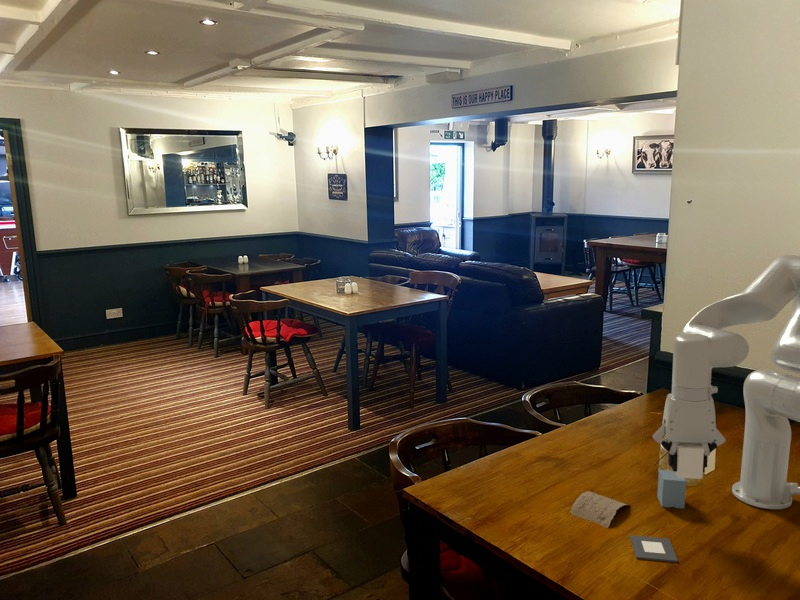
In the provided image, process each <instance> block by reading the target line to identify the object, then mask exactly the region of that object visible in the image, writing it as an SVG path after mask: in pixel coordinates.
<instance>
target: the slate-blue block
mask: <svg viewBox="0 0 800 600" xmlns="http://www.w3.org/2000/svg"><path fill="white" fill-rule="evenodd" d="M657 480H658V482H657V495H656V496H657V499H658V502H659V501H660V502H659V504H660V506H661V507H662V508H670V507H675V508H674V509H685V506H686V503H685V502H686V491H687V490H686V489H687V480H686V478H678V477H677V475H676V473H675V472H673V470H668V469H667V470H665V469H659V470H658V479H657Z"/></svg>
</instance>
